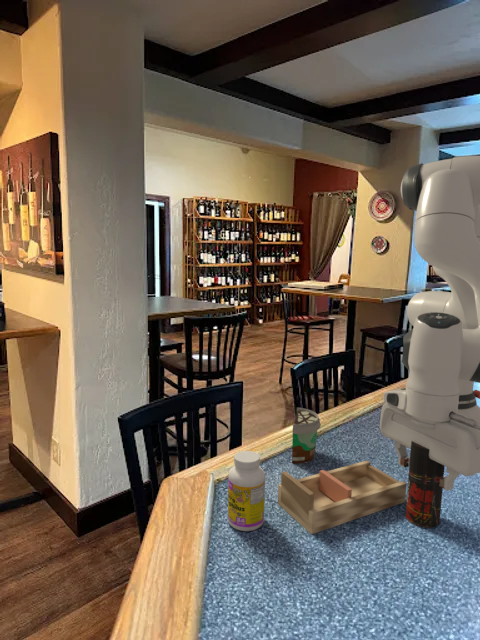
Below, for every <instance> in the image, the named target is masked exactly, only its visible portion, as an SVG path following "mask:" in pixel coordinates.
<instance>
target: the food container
mask: <svg viewBox="0 0 480 640" xmlns="http://www.w3.org/2000/svg"><path fill="white" fill-rule="evenodd" d="M320 428H321V419H320V417H319V415H318V413H316V412H315V411H313V410H311V409H307V408H303V407H296V416H295V418H294V423H293V424H292V441H291V442H292V446H291V447H292V449H291V451H292V454H291V464H296V465H298V464H299V465H300V464H306V463H310V462H312V461H313V460H314V459H315V454H316V447H317V445H316V444H317V435H318V430H319V429H320Z"/></svg>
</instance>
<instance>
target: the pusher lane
mask: <svg viewBox="0 0 480 640" xmlns="http://www.w3.org/2000/svg"><path fill="white" fill-rule="evenodd" d="M325 471H326V472H328V473H329V474H331V475H332V476H333V477H335V478H336V479H338V480H339V481H341V482H342V483H344V484H345V485H347V486H348V487H349V488H351V489H352V495H351V497H350V498H347V499H344V500H341V501H338V502H335V501H334V500H332V499H331V498H330V497H328V496H327V495H326V494H324V493H323V492H322V491H320V490H319V474H320V472H318V473H315V474H313V475H312V474H311V475H310V476H309V475H308V476H305V477H301V478H298V479H296V478H295V477H293V476H292V475H291V474H290V473H288V472H287V471H283V472H282V471H281V474H280V475H281V477H280V478H281V479H280V483H279V484H277V485H278V486H277V504H278V505H279V506H280V507H281V508H282V509H283V510H284V511H285V512H286V513H288V514H289V515H290V516H291V517H292V518H293V520H295V521H296V522H297V523H298V524H300V526H301V527H303V528H304V529H305V530H306V531H307V532H308V533H310V535H313V534H316V533H319V532H322V531H326V530H327V529H331V528H335V527H337V526H340V525H343V524H345V523H348V522H351V521H354V520H357V519H359V518H363V517H366V516H368V515H372V514H374V513H377V512H381V511H383V510H386V509H389V508H392V507H395V506H397V505H401V504H403V503H406V498H407V485H408V482H405V481H403V480H402V481H399V480H398V479H396V478H394V477H393V476H391V475H389V474H387V473H386V472H384V471H383V470H380V469H379V468H377V467H375V466H374V465H372V464H371V461H369V460H363V461H360V462H356V463H353V464H349V465H345V466H341V467H339V468H334V469H331V470H325Z"/></svg>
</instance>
